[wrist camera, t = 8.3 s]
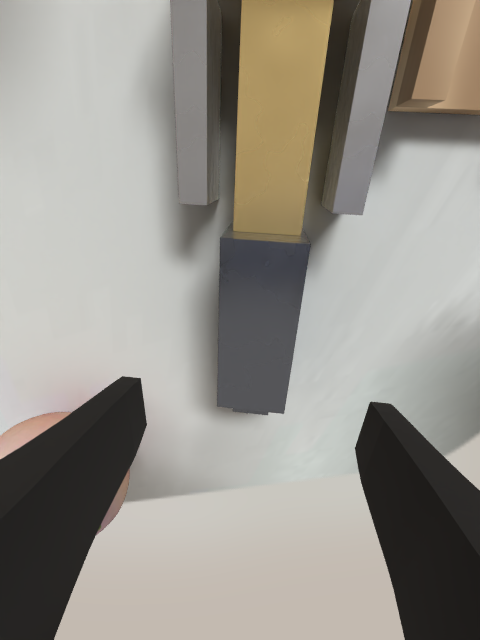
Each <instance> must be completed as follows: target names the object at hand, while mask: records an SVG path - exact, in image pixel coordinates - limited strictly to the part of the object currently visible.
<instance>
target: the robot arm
mask: <svg viewBox="0 0 480 640" xmlns="http://www.w3.org/2000/svg"><path fill="white" fill-rule="evenodd" d="M146 426H147V423H146V416H145V408H144V400H143V393H142V385H141V378H133V377H123V376H122V377H121V378H119V379H118V380H116V381H115V382H114V383H112V384H111V385H109V386H108V387H107V388H105V389H104V390H102V391H101V392H100V393H98V394H97V395H96V396H94V397H93V398H92V399H90V400H89V401H87V402H86V403H85V404H83V405H82V406H80V407H79V408H78V409H76V410H75V411H73V412H72V413H71V414H69V415H68V416H66V417H65V418H64V419H62V420H61V421H59V422H58V423H56V424H55V425H53V426H52V427H50V428H49V429H47V430H46V431H44V432H43V433H41V434H40V435H38V436H36V437H35V438H33V439H32V440H30V441H29V442H27V443H26V444H24V445H23V446H21V447H20V448H18V449H16V450H15V451H13V452H12V453H10V454H8V455H7V456H5V457H3V458H2V459H0V640H54V637H55V635H56V632H57V630H58V627H59V624H60V622H61V619H62V617H63V614H64V611H65V609H66V606H67V604H68V601H69V598H70V596H71V593H72V591H73V588H74V586H75V583H76V581H77V578H78V576H79V573H80V571H81V568H82V566H83V564H84V561H85V559H86V556H87V554H88V551H89V549H90V547H91V544H92V542H93V540H94V538H95V536H96V534H97V532H98V529H99V527H100V525H101V523H102V521H103V519H104V518H105V516H106V514H107V512H108V510H109V508H110V506H111V504H112V502H113V500H114V498H115V496H116V494H117V492H118V490H119V488H120V486H121V484H122V482H123V480H124V478H125V476H126V474H127V472H128V470H129V468H130V466H131V464H132V462H133V460H134V458H135V456H136V453H137V451H138V448H139V445H140V443H141V440H142V437H143V434H144V431H145V428H146ZM355 451H356V457H357V463H358V468H359V474H360V479H361V483H362V487H363V490H364V493H365V497H366V500H367V503H368V506H369V510H370V513H371V516H372V519H373V523H374V526H375V529H376V532H377V535H378V538H379V542H380V545H381V548H382V551H383V554H384V558H385V561H386V564H387V567H388V571H389V574H390V578H391V582H392V585H393V589H394V593H395V597H396V602H397V606H398V610H399V615H400V620H401V624H402V628H403V633H404V637H405V640H480V490H478V489H477V488H476V487H475V486H474V485H473V484H472V483H471V482H469V480H467V479H466V478H465V477H464V476H463V475H462V474H461V473H460V472H459V471H458V470H457V469H456V468H455V467H454V466H453V465H451V463H450V462H449V461H447V459H446V458H445V457H444V456H443V455H441V454H440V453H439V452H438V451H437V450H436V449H435V448H434V447H433V446H432V445H431V444H430V443H429V442H428V441H427V440H426V439H425V438H424V437H423V436H422V434H421V433H420V432H419V431H418V430H417V429H416V428H415V427H414V426H413V425H412V424H411V423H410V422H409V421H408V420H407V419H406V418H405V417H404V416H403V415H402V414H401V413H400V412H399V411H398V410H397V409H396V408H395V407H394V406H393V405H392V404H387V403H378V402H370V404H369V407H368V410H367V413H366V416H365V419H364V422H363V425H362V428H361V431H360V434H359V438H358V441H357V444H356V447H355Z"/></svg>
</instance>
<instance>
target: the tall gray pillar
mask: <svg viewBox="0 0 480 640" xmlns="http://www.w3.org/2000/svg"><path fill="white" fill-rule="evenodd" d="M233 222H234V221H233ZM233 222H232V223H231V225H230V226H229V227H228V228H227V230H226V231H225V232H224V234H223V235H222V236H221V237H220V279H219V336H218V393H217V406H218V407H227V408H233V411H235V412H244V413H253V414H262V415H268V412H272V413H282V414H284V410H285V404H286V398H287V391H288V385H289V379H290V372H291V366H292V360H293V353H294V347H295V340H296V334H297V328H298V321H299V315H300V309H301V302H302V296H303V290H304V283H305V277H306V270H307V264H308V258H309V251H310V245H311V244H310V242H309V240H308V238H307V236H306V234H305V232H304V230H303V228H302V231H301V236H296V235H282V234H267V233H252V232H238V231H233Z"/></svg>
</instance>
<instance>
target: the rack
mask: <svg viewBox="0 0 480 640" xmlns="http://www.w3.org/2000/svg"><path fill="white" fill-rule="evenodd" d="M388 111H401V112H425V113H449V114H473V115H480V0H413V2H412V7H411V11H410V15H409V20H408V24H407V28H406V33H405V37H404V42H403V46H402V50H401V55H400V59H399V63H398V68H397V72H396V77H395V81H394V85H393V90H392V94H391V98H390V103H389V107H388Z"/></svg>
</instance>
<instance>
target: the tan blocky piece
mask: <svg viewBox="0 0 480 640" xmlns="http://www.w3.org/2000/svg"><path fill="white" fill-rule="evenodd" d="M333 3H334V0H242V7H241V34H240V60H239V87H238V114H237V141H236V168H235V195H234V222H233V231H238V232H252V233H267V234H282V235H296V236H301V231H302V224H303V217H304V210H305V203H306V196H307V189H308V181H309V174H310V167H311V160H312V153H313V146H314V139H315V132H316V124H317V117H318V110H319V103H320V96H321V89H322V82H323V74H324V67H325V60H326V53H327V46H328V39H329V32H330V25H331V17H332V10H333Z"/></svg>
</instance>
